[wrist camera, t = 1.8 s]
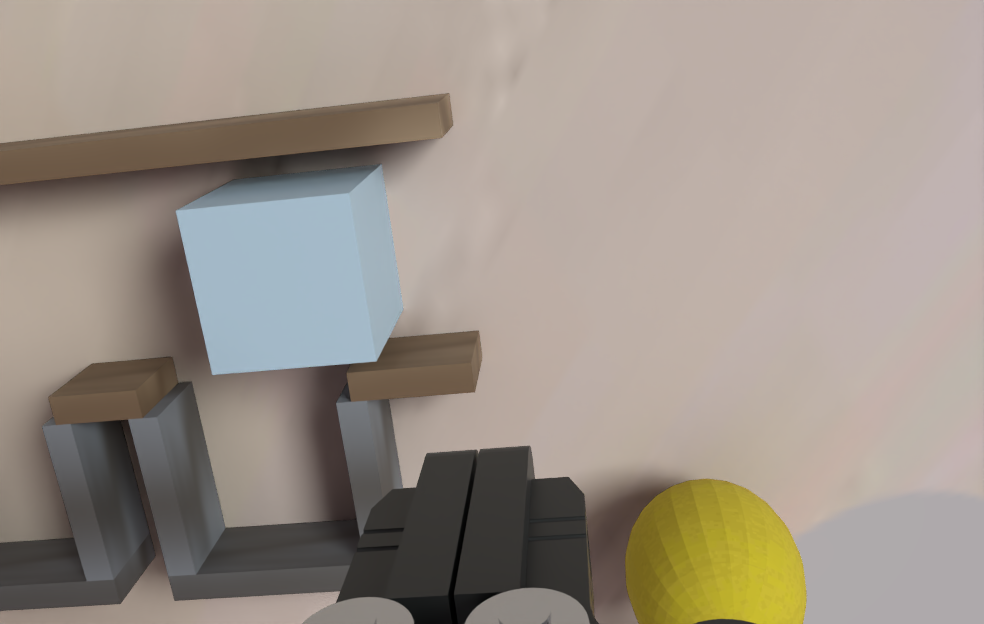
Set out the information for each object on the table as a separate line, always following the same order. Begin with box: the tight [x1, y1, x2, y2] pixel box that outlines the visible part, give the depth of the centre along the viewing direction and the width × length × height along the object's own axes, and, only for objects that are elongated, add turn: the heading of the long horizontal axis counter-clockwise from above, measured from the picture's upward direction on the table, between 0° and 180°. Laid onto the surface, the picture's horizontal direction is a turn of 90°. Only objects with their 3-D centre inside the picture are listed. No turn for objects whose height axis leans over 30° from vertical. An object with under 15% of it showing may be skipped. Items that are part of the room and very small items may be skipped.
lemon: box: [625, 479, 806, 624], centre depth 29 cm, size 6×6×8 cm
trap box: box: [0, 93, 482, 611], centre depth 32 cm, size 16×29×3 cm, turn 97°
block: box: [176, 164, 403, 375], centre depth 29 cm, size 5×5×5 cm
